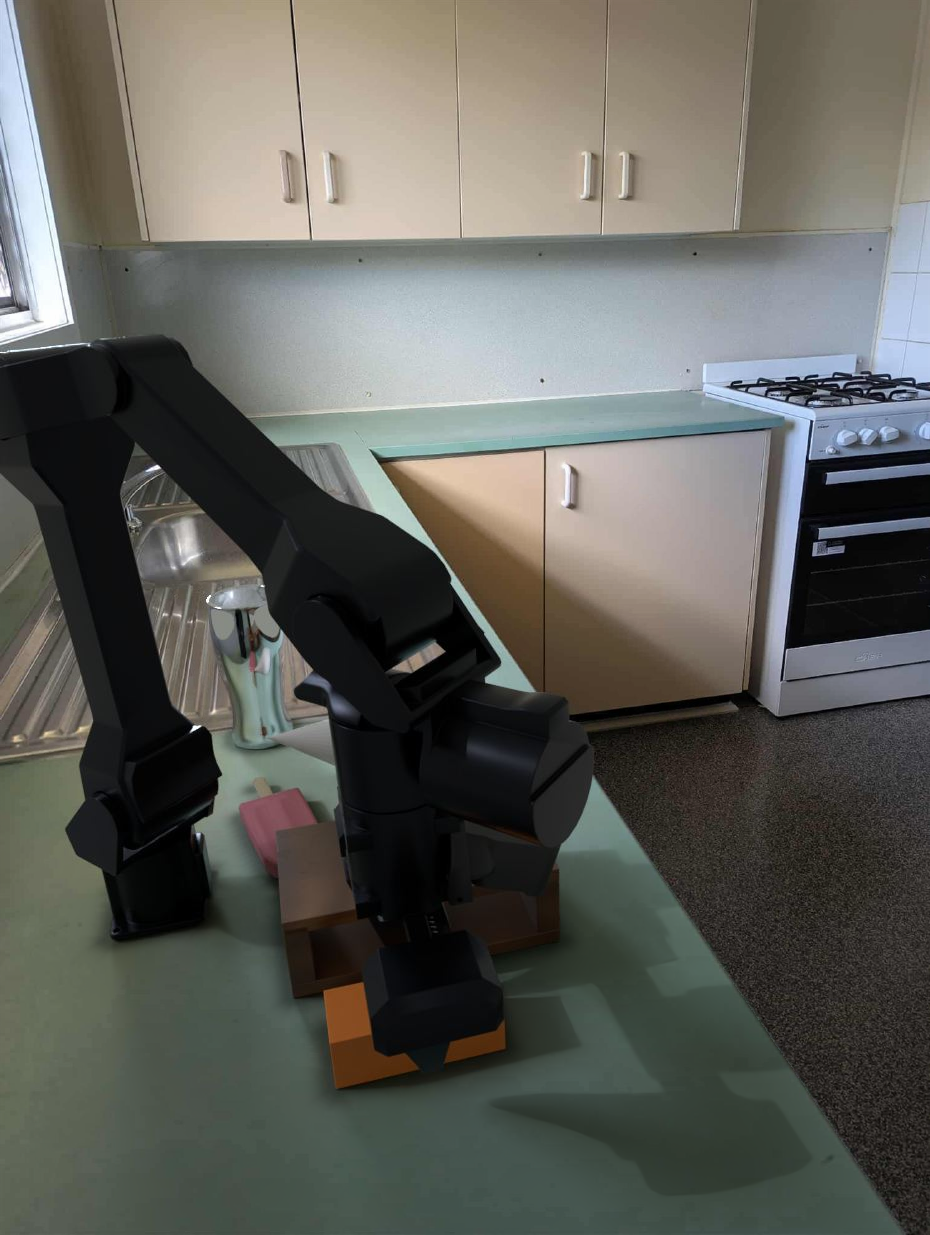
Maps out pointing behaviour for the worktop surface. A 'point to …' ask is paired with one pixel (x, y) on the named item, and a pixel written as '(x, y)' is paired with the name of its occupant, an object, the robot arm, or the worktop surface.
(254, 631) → the beer glass
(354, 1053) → the orange rectangular block
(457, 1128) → the worktop surface
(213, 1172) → the worktop surface
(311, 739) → the ice cream cone
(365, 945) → the shelf
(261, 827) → the popsicle
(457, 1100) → the worktop surface
